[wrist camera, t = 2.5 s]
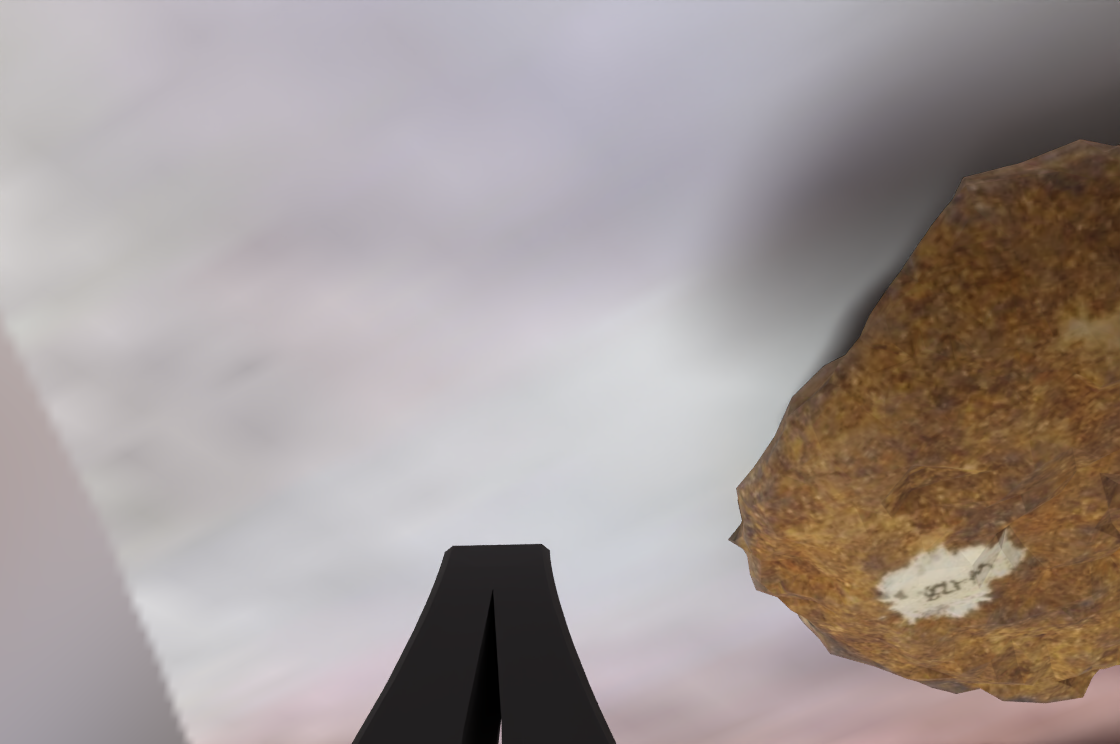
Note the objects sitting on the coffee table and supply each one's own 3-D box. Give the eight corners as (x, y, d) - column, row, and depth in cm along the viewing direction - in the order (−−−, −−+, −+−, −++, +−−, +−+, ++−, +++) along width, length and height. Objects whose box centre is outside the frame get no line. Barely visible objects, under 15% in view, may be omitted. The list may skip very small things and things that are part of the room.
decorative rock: (1016, -158, 12) (652, 530, 20) (1189, -168, 8) (664, 671, 16) (1604, 87, 13) (1049, 636, 21) (1954, 165, 10) (1138, 785, 18)
